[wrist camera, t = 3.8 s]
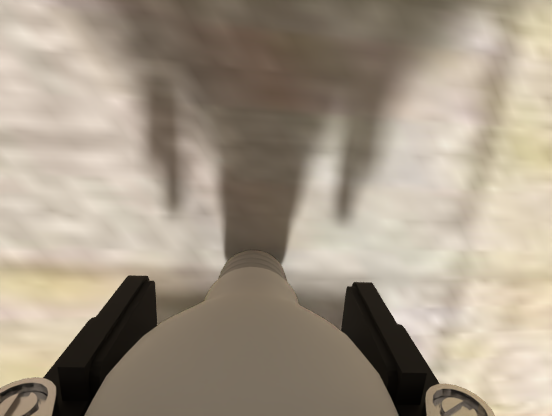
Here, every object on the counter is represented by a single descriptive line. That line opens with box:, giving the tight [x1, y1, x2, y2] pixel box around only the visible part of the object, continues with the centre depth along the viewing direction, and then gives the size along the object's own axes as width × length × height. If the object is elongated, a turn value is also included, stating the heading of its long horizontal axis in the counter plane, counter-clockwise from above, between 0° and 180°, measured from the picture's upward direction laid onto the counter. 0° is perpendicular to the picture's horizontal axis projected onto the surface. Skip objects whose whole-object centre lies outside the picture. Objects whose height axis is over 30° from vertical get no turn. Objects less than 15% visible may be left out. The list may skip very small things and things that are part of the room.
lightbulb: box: [84, 250, 399, 416], centre depth 9 cm, size 6×6×11 cm
